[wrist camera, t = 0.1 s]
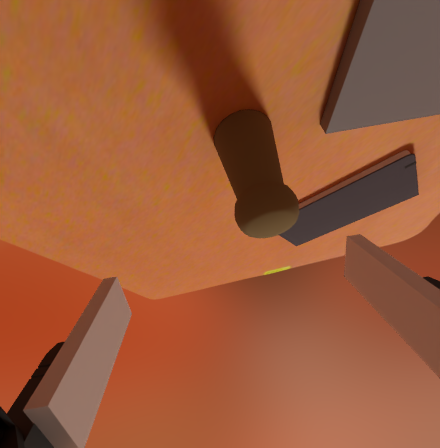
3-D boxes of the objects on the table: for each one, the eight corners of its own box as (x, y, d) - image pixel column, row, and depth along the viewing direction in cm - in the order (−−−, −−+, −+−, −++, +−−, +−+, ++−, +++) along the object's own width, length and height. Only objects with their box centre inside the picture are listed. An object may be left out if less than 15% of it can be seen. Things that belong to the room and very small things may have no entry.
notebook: (293, 239, 49) (413, 187, 39) (296, 246, 48) (418, 194, 38) (263, 218, 40) (408, 143, 30) (265, 226, 39) (415, 152, 29)
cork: (230, 100, 21) (260, 200, 15) (284, 120, 23) (327, 212, 18) (204, 152, 25) (221, 245, 20) (252, 164, 28) (279, 248, 22)
